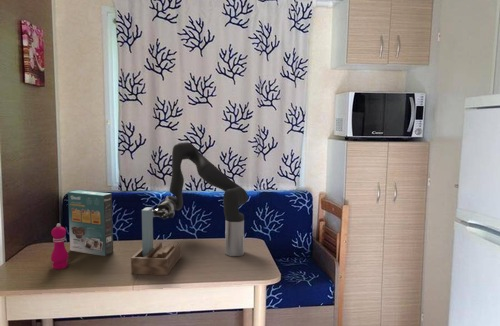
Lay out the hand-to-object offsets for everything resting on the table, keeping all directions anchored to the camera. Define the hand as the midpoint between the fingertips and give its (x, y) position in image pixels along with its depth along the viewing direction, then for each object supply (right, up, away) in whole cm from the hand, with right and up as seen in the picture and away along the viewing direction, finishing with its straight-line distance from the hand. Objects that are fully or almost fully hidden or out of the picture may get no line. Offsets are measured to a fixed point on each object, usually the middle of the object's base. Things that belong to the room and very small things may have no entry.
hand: (155, 217), depth 198 cm
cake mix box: (-34, -18, +7) cm, 39 cm away
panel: (-1, -20, -10) cm, 23 cm away
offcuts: (+6, -21, -10) cm, 24 cm away
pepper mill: (-40, -21, -14) cm, 47 cm away
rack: (+4, -20, -10) cm, 23 cm away
